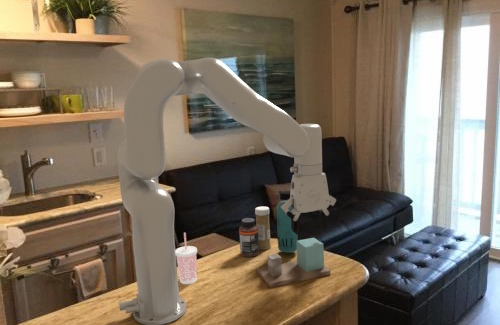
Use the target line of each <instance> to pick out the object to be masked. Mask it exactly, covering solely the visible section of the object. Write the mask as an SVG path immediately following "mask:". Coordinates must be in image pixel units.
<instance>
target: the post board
mask: <svg viewBox="0 0 500 325" xmlns="http://www.w3.org/2000/svg"><path fill="white" fill-rule="evenodd" d="M256 274H257V275H258V276H260V278H261V279H262V280H263V281H264V282H265V284H267V285H268V287H270V288H276V287H280V286H284V285H289V284H294V283H298V282H302V281H307V280H312V279H316V278H320V277H325V276H330V275H331V270H330V269H329V268H328V267H326V266H325V265H324V268H321V269H316V270H311V271H307V272H306V271H305V270H304V269H302V268H301V267H300V266H299V265H298V264H297V260H294V261H289V262H284V263H282V257H281V255H279V254H278V253H274V254H270V255H269V254H268V255H267V266H265V267H258V268H256Z"/></svg>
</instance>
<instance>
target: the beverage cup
mask: <svg viewBox="0 0 500 325" xmlns="http://www.w3.org/2000/svg"><path fill="white" fill-rule="evenodd" d="M183 239H184V246H181V247H178V248H175V253H176V264H177V271H178V275H179V282H180V283H181V284H183V285H191V284H194V283H196V282H197V278H198V276H197V275H198V273H197V271H198V270H197V269H198V267H197V253H198V248H197V247H196V246H193V245H187V233H186V232H183Z"/></svg>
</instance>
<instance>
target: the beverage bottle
mask: <svg viewBox="0 0 500 325" xmlns="http://www.w3.org/2000/svg"><path fill="white" fill-rule="evenodd" d="M279 199H280V200H281V201H280V202H279V203H278V204H277V205H276V226H277V231H276V233H277V235H276V236H277V241H276V242H277V248H278V250H279V251H280V252H283V253H294V252H297V242H296V241H298V237H299V236H298V235H297V234H295V233H294V232H293V231H292V228H291V218H290V217H288V216H287V215H286V214H285V212H284V211H283V210H282V209H281V206H282V205H283V204H284V203H285V202H286V201H287V200H289V199H290V190H282V191H280V192H279ZM288 209H289V211H290V212H292V210H293V209H292V208H291V206H290V207H289V208H288Z"/></svg>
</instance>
